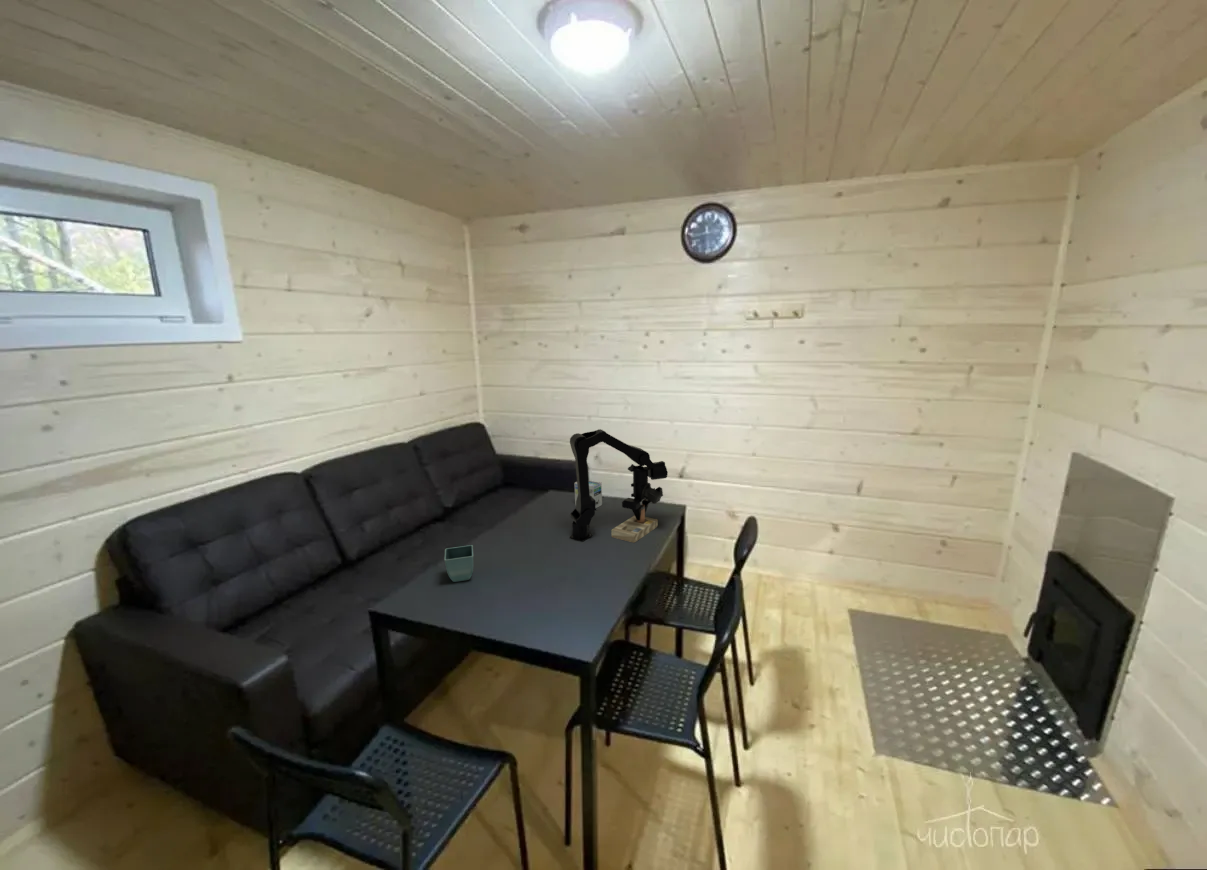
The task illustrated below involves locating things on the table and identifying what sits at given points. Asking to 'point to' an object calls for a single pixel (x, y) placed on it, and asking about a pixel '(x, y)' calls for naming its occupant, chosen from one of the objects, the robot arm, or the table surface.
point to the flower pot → (459, 562)
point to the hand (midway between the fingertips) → (640, 519)
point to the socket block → (634, 529)
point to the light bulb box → (592, 492)
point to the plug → (642, 515)
